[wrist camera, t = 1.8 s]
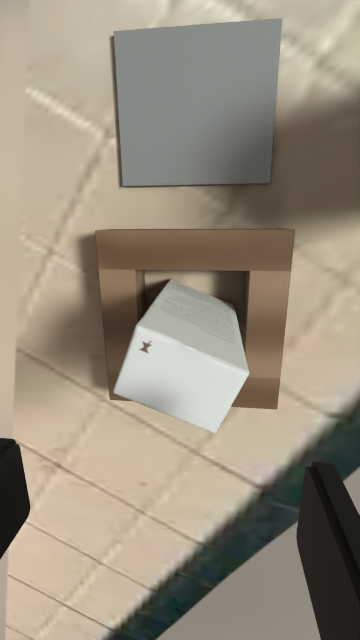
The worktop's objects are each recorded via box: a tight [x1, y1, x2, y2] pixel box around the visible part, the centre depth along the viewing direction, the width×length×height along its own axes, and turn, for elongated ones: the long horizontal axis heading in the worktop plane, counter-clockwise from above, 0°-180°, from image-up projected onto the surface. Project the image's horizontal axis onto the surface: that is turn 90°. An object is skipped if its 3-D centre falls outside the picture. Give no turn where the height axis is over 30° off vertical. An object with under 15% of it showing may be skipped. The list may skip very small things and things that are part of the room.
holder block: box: [95, 229, 295, 409], centre depth 25 cm, size 14×14×3 cm
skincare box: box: [113, 279, 249, 433], centre depth 21 cm, size 6×4×12 cm
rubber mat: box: [114, 18, 282, 187], centre depth 22 cm, size 10×11×1 cm
